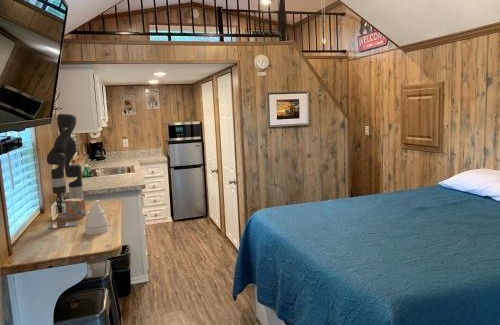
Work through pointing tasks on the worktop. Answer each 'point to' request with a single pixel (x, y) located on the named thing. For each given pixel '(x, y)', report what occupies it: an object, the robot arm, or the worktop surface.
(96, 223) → the white tiered cone
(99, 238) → the worktop surface
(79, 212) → the stack of blocks
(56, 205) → the sage cube
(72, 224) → the slate board
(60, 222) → the walnut cube
